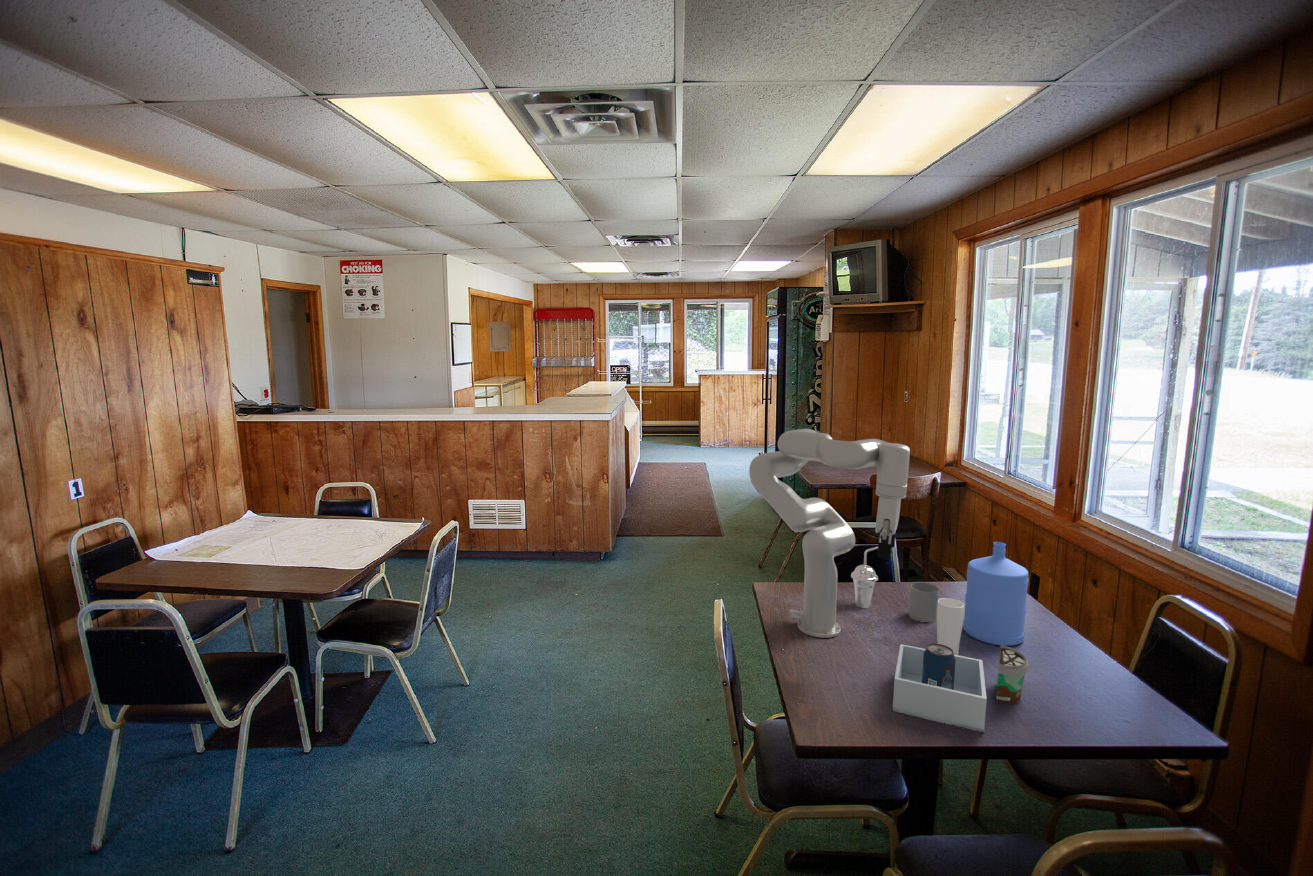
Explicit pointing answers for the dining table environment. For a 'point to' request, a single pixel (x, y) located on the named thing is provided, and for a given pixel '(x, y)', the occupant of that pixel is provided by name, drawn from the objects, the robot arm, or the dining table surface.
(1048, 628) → the dining table surface
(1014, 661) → the food container
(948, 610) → the drinking glass
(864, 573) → the cup with straw
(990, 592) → the water jug
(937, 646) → the soda can
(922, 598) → the cup
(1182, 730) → the dining table surface
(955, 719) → the open storage bin
